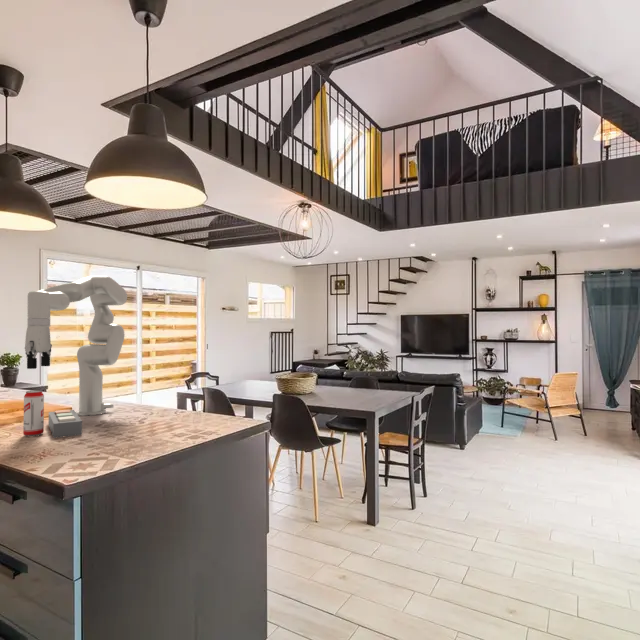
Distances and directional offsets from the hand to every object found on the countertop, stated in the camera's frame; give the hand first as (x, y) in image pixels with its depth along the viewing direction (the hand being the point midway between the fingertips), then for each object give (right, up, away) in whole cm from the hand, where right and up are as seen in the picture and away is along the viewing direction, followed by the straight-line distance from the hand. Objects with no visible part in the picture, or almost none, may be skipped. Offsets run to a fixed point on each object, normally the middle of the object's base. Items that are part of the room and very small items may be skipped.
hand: (38, 367), depth 174 cm
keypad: (+10, -24, 0) cm, 26 cm away
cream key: (+14, -21, -7) cm, 26 cm away
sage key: (+10, -21, 0) cm, 23 cm away
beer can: (+4, -24, -9) cm, 26 cm away
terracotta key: (+5, -21, +7) cm, 23 cm away
